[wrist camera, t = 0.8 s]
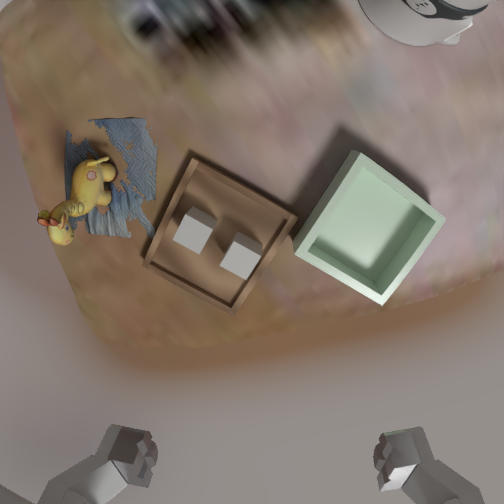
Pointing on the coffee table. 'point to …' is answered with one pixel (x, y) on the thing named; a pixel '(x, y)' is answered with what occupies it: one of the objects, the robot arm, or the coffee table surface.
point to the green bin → (367, 229)
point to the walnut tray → (217, 235)
